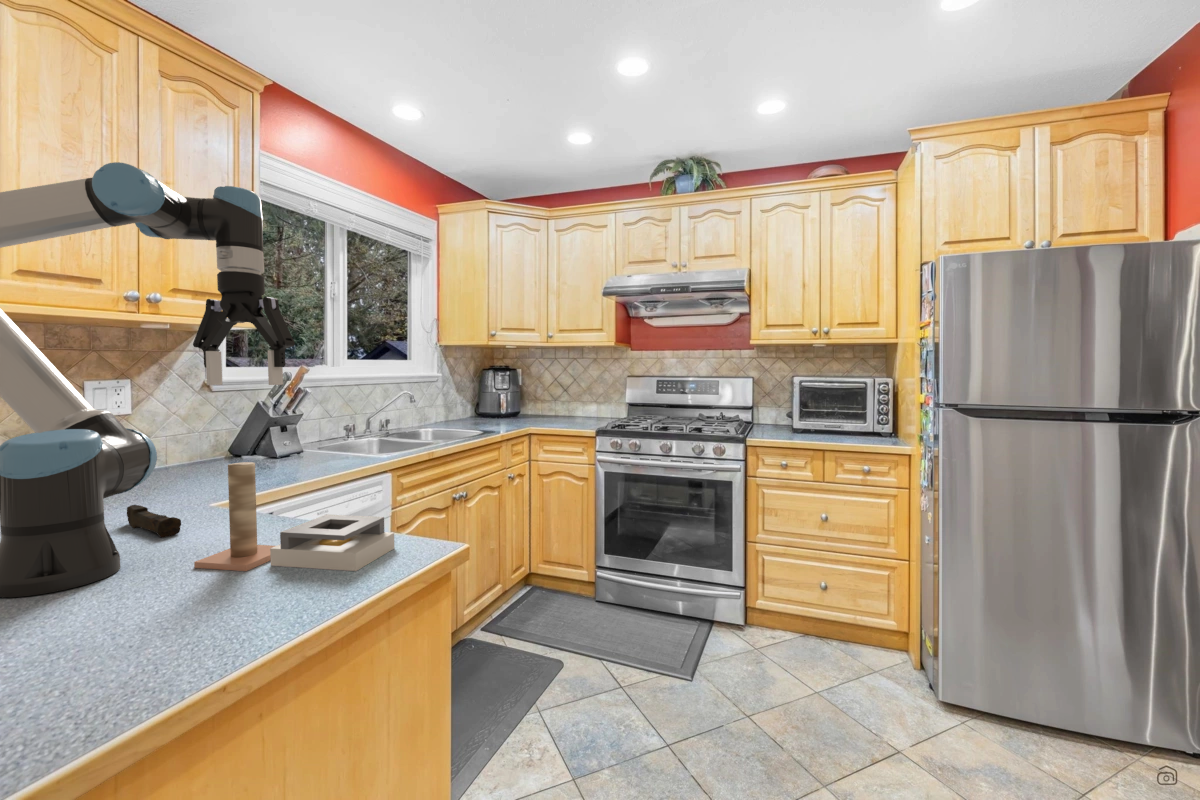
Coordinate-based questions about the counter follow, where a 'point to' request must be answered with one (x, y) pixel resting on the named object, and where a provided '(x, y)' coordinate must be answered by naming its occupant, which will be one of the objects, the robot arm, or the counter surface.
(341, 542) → the button
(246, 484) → the wooden cylinder
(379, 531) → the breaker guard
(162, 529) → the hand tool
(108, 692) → the counter surface
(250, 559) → the rest tile
